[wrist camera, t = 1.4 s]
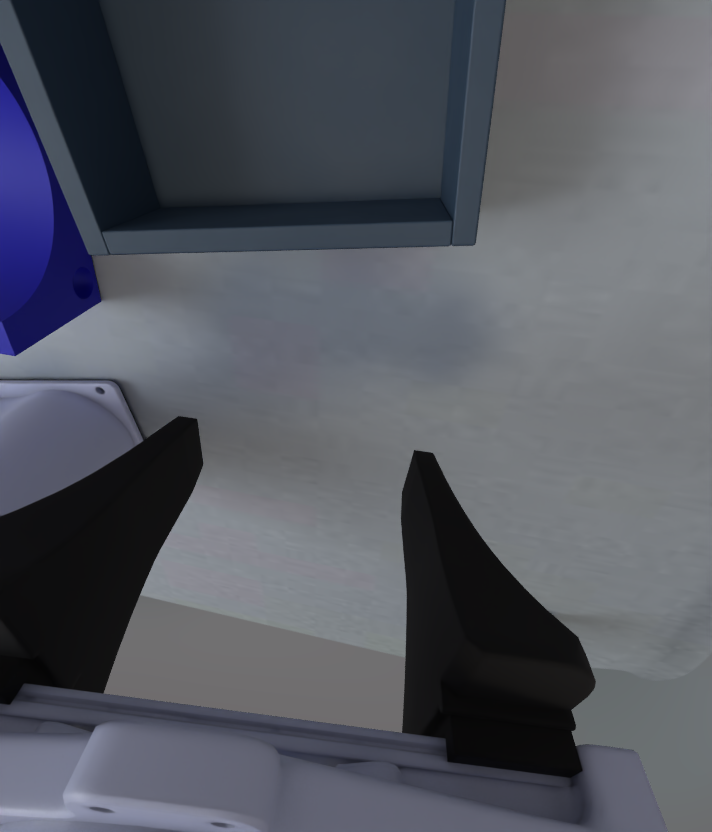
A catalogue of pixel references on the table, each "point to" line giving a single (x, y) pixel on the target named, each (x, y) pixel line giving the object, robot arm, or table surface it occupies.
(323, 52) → the desk bin
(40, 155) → the blue cradle bracket
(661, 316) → the table surface
